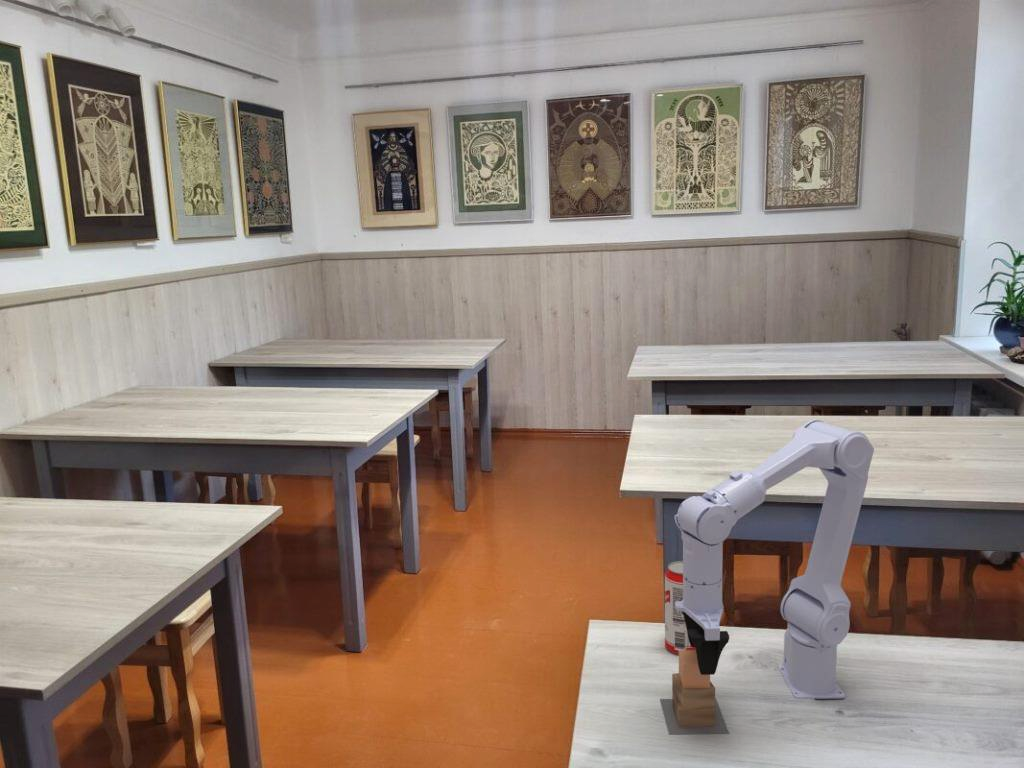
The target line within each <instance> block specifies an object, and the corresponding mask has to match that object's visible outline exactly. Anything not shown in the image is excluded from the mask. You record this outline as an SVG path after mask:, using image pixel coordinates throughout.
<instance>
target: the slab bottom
mask: <svg viewBox="0 0 1024 768" xmlns="http://www.w3.org/2000/svg"><path fill="white" fill-rule="evenodd" d="M671 692H672V695H671V696H672V697H671V699H672V705H673V709H674V712H675V716H676V719H677V723H678V726H679V727H712V726H715V707H714V706H711V707H703V708H695V709H687V710H683V708H682V706H681V705H680V703H679V701H678V700H677V698H676V696H675V695H674V693H673V691H672V690H671Z"/></svg>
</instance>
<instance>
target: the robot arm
mask: <svg viewBox="0 0 1024 768" xmlns="http://www.w3.org/2000/svg"><path fill="white" fill-rule="evenodd" d="M874 452H875V448H874V446H873V445H872V443H871V441H870V440H869V438H868V437H867V435H866V434H864V433H863V432H860V431H857V430H850V429H848V428H844V427H840V426H837V425H833V424H832V423H831V424H830V423H827V422H824V421H823V420H821V419H820V420H819V419H811V420H808V421H807V422H806V423H804V424H803V425H802V426H800V427H799V428H796V429H795V430H794V432H793V435H792V438H791V440H790V441H788V442H787V443H786V444H784V446H782V447H781V448H780V449H778V450H777V451H776V452H775V453H773V454H772V455H771V456H769V457H767V459H766V460H765V461H763V462H762V463H760V464H759V465H758V466H757V467H755V468H754V469H753V470H752V471H748V470H745V469H743V470H742V469H739V470H738V471H737V470H734V471H732V472H731V473H729V476H728V478H726V479H725V480H723V481H722V482H719V483H718V484H717V485H715V486H714V487H713V488H711V489H708V490H706V491H705V492H704V493H703V495H702V496H700V495H696V496H695V495H692V496H689V497H688V498H686V499H685V500H683V501H682V502H681V504H679V507H678V509H677V514H675V515H674V517H673V518H674V521H675V525H676V526H677V528H678V529H679V531H680V532H681V536H680V537H681V538H680V539H681V540H682V561H683V599H681V600H679V601H676V602H675V608H676V610H677V611H680V612H682V613H683V616H684V619H685V623H686V628H687V633H688V638H689V642H690V645H691V647H695V650H696V655H697V662H698V667H699V670H700V673H701V675H710V676H712V675H713V676H714V675H715V674H716V671H717V667H718V664H719V661H720V657H721V655H722V653H723V650H724V648H725V647H726V645H727V644H728V643H729V641H730V635H729V632H728V631H727V630H721V627H720V624H721V619H722V616H723V613H724V603H723V551H724V550H723V549H724V548H723V544H724V541H726V539H727V538H728V537H729V535H730V534H731V531H732V528H733V527H734V526H735V525H736V523H737V522H738V520H739V519H741V518H742V517H744V516H745V515H746V514H748V513H750V512H751V511H752V510H754V509H755V508H757V507H759V506H760V505H762V504H763V503H764V502H765V500H766V494H767V490H769V489H771V488H773V487H774V486H776V485H778V484H780V483H781V482H783V481H785V480H786V479H788V478H790V477H791V476H793V475H795V474H797V473H798V472H801V471H802V470H804V469H806V468H808V467H809V468H817V469H819V470H820V471H821V474H822V475H823V476H824V478H825V479H826V480H827V488H826V491H825V495H824V497H823V503H822V508H821V510H820V514H819V519H818V522H817V526H816V530H815V534H814V537H813V542H812V546H811V549H810V553H809V558H808V561H807V565H806V567H805V568H806V569H805V573H804V574H802V575H800V576H797V577H795V578H792V580H791V582H790V586H789V588H788V591H787V592H786V594H785V595H784V596H783V598H782V601H781V603H780V606H779V607H780V610H779V611H780V615H781V617H782V618H783V620H785V621H786V622H787V628H786V630H785V632H784V636H783V637H784V640H783V664H782V663H781V664H778V665H777V669H778V671H779V672H780V674H781V675H782V677H783V679H784V682H786V685H787V686H788V688H789V690H790V692H791V694H792V696H793V697H794V698H795V699H815V700H820V699H823V700H824V699H825V700H826V699H845V696H846V694H845V693H844V691H843V690H842V689H841V687H840V685H839V684H838V683H837V682H838V681H837V679H836V675H837V656H838V655H837V653H838V645H839V644H841V643H842V642H843V641H844V640H845V638H846V637H847V635H848V633H849V631H850V625H851V623H850V621H851V619H850V609H851V606H852V603H851V601H850V600H849V597H848V595H847V594H846V592H845V591H844V589H843V588H842V587H843V586H842V585H841V583H842V580H843V577H844V576H843V575H844V572H845V568H846V564H847V560H848V557H849V552H850V550H851V546H852V542H853V538H854V534H855V530H856V526H857V521H858V519H859V515H860V510H861V507H862V505H863V499H864V496H865V492H866V488H867V484H868V480H869V470H870V467H871V463H872V459H873V455H874Z"/></svg>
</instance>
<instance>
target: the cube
mask: <svg viewBox="0 0 1024 768" xmlns="http://www.w3.org/2000/svg"><path fill="white" fill-rule="evenodd" d="M678 673H679V676H680V679H681V682H682V685H683V688H710V681H711V675H701V673H700V670H699V667H698V662H697V655H696V650H679V655H678Z"/></svg>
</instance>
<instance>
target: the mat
mask: <svg viewBox="0 0 1024 768" xmlns="http://www.w3.org/2000/svg"><path fill="white" fill-rule="evenodd" d="M659 701H660V705H661V710H662V713H663V718H664V720H665V724H666V728H667V729H666V730H667V732H668V735H669V736H681V735H684V736H685V735H730V732H729V729H728V726H727V724H726V721H725V719H724V715H723V713H722V711H721V708H720V706H719V703H718V700H717V698H716V697H715V706H714V707H715V726H712V727H679V726H678V723H677V719H676V716H675V712H674V709H673V705H672V698H659Z"/></svg>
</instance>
